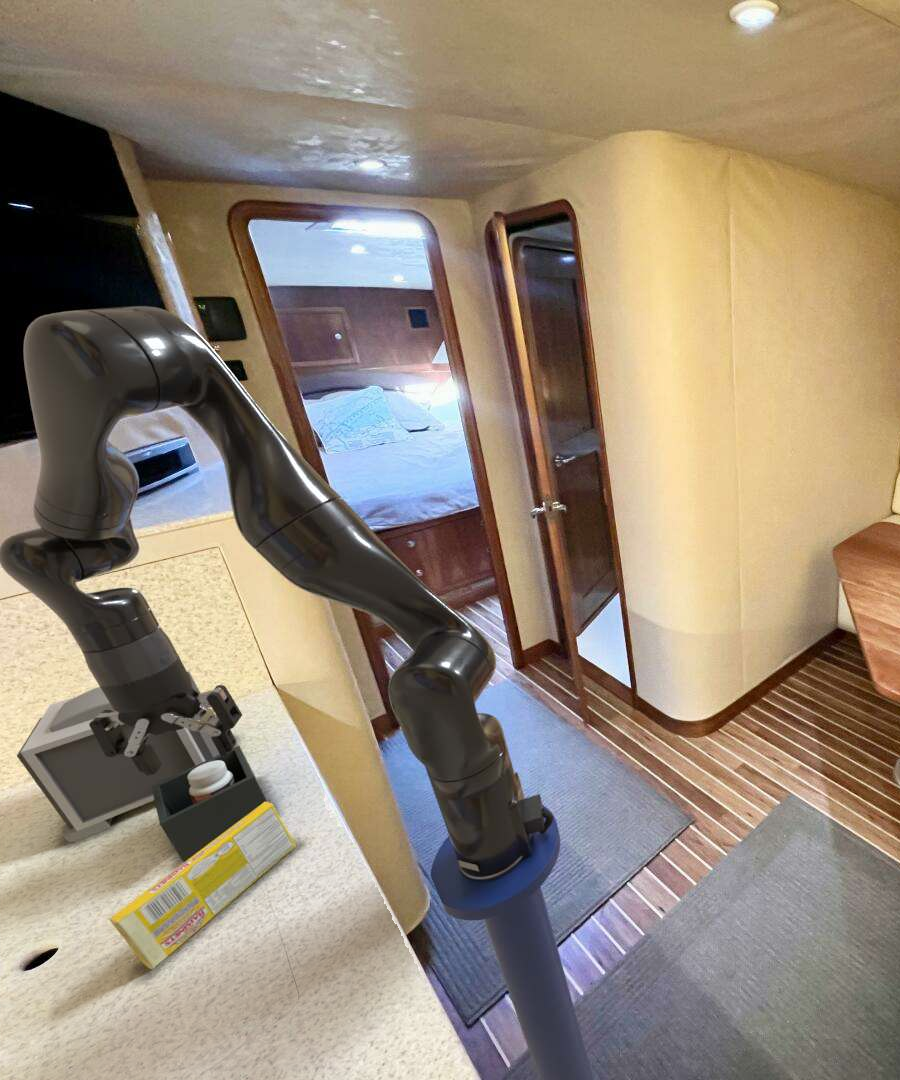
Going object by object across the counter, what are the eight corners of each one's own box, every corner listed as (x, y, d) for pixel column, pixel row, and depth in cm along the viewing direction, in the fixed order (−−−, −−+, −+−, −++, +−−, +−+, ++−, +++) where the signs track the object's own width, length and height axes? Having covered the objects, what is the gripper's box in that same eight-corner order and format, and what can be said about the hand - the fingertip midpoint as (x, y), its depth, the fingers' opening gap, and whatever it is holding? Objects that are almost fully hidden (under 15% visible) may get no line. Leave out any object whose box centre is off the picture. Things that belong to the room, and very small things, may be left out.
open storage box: (273, 814, 80) (254, 776, 77) (184, 864, 73) (159, 824, 70) (257, 781, 86) (239, 745, 84) (174, 824, 80) (151, 786, 77)
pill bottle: (201, 834, 76) (182, 786, 74) (202, 815, 80) (184, 769, 77) (244, 816, 79) (227, 770, 77) (243, 798, 83) (227, 753, 80)
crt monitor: (233, 736, 97) (189, 651, 90) (229, 778, 87) (180, 687, 81) (87, 791, 87) (26, 700, 80) (65, 846, 77) (-8, 748, 70)
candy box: (287, 843, 75) (265, 799, 72) (297, 847, 75) (275, 803, 72) (141, 964, 61) (106, 917, 58) (152, 971, 61) (117, 923, 57)
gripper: (218, 639, 75) (262, 730, 81) (88, 664, 71) (145, 758, 77) (189, 668, 68) (240, 764, 74) (44, 698, 64) (110, 797, 70)
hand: (192, 761), depth 76 cm, fingers open, 8 cm apart
